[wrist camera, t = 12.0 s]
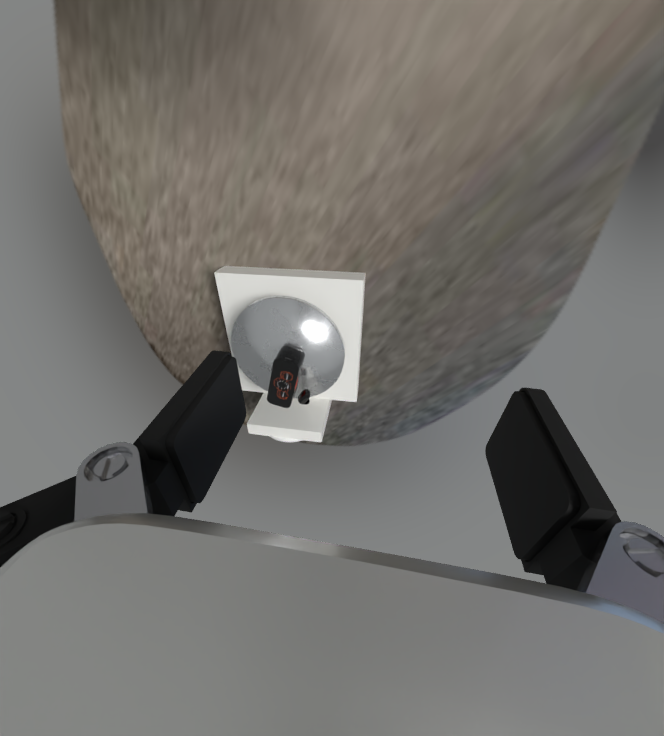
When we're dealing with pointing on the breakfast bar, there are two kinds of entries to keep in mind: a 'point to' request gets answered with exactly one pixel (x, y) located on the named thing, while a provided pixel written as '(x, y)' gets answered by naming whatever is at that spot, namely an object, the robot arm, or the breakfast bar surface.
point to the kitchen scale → (294, 340)
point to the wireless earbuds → (287, 378)
